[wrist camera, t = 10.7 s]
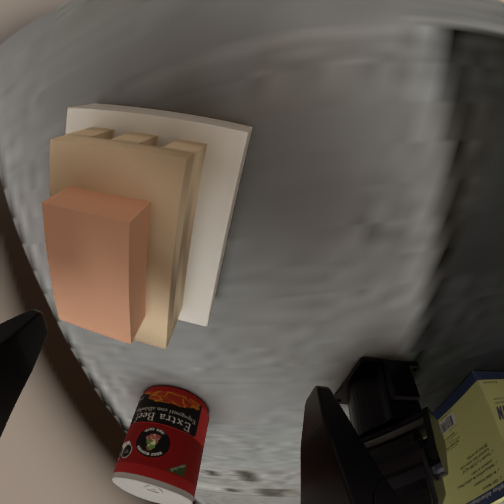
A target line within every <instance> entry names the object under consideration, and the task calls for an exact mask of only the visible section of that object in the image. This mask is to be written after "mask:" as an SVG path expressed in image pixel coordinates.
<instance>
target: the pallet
mask: <svg viewBox="0 0 504 504" xmlns="http://www.w3.org/2000/svg"><path fill="white" fill-rule="evenodd" d="M113 135H114V129H107V128H98V127H90V128H86V129H83V130H79V131H76V132H72V133H69V134H66V135H62V136H59V137H56V138H53V139H50V197H52V196H53V195H55V194H57V193H58V192H60V191H62V190H64V189H65V188H67V187H69V186H72V187H77V188H83V189H88V190H93V191H98V192H103V193H108V194H113V195H118V196H123V197H128V198H132V199H137V200H142V201H147V202H151V204H150V216H149V229H148V244H147V263H146V296H145V318H144V320H143V322H142V324H141V326H140V328H139V330H138V332H137V334H136V336H135V338H134V340H136V341H139V342H143V343H146V344H149V345H153V346H156V347H160V348H163V349H166V348H167V345H168V343H169V340H170V338H171V335H172V332H173V330H174V327H175V325H176V322H177V320H178V317H179V315H180V312H181V310H182V305H183V297H184V288H185V280H186V272H187V265H188V257H189V250H190V243H191V236H192V230H193V223H194V217H195V210H196V204H197V198H198V192H199V186H200V181H201V175H202V170H203V164H204V159H205V153H206V148H207V144H205V143H199V142H194V141H189V140H183V139H178V140H176V141H174V142H172V143H170V144H168V145H166V146H164V147H158V146H157V140H158V135H153V134H146V133H139V132H130V133H127V134H124V135H121V136H118V137H115V138H113Z"/></svg>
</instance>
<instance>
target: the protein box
mask: <svg viewBox="0 0 504 504" xmlns="http://www.w3.org/2000/svg"><path fill="white" fill-rule="evenodd" d="M433 416H434V417H435V419H436V420H437V421H438V423H439V425H440V428H441V431H442V434H443V437H444V440H445V443H446V452H447V463H448V475H447V476H445V477H443V482H444V487H445V491H446V496H445V499H444V502H443V504H501V503H502V502H504V372H494V371H472V372H471V374H470V375H469V376H468V377H467V378H466V379H465V381H464V382H463V383H462V384H461V385H460V386H459V387H458V388H457V389H456V390H455V391H454V393H453V394H452V395H451V396H450V397H449V398H448V399H447V400H446V401H445V402H444V403H443V404H442V405H441V406H440V407H439V408H438V409H437V410H436V411H435V412H434V413H433ZM425 438H427V436H426V437H424V438H423V439H425Z"/></svg>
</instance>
